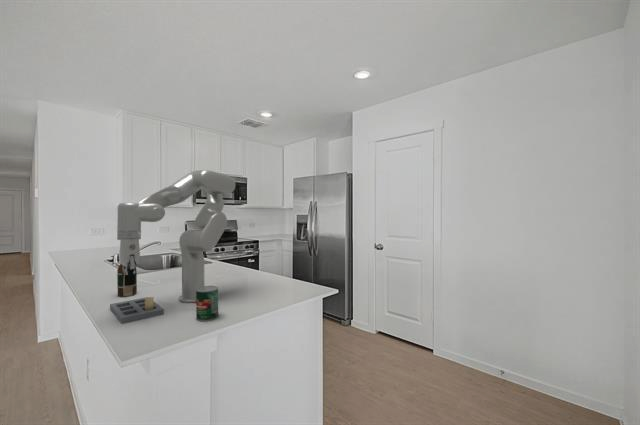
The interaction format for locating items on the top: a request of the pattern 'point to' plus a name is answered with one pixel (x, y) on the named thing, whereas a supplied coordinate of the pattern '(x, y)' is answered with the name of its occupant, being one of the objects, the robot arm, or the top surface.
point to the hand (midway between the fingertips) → (128, 283)
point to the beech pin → (127, 287)
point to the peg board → (136, 309)
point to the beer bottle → (120, 285)
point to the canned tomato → (207, 303)
